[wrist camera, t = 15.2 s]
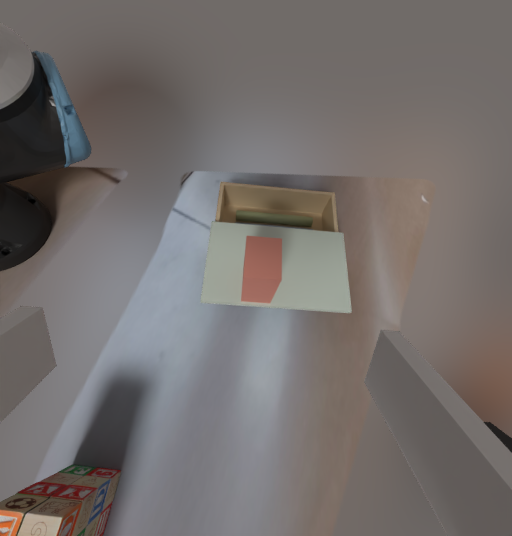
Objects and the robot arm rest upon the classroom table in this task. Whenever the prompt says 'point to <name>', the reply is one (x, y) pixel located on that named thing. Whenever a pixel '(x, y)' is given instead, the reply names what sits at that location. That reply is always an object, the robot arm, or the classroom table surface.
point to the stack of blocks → (62, 504)
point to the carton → (276, 207)
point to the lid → (276, 268)
